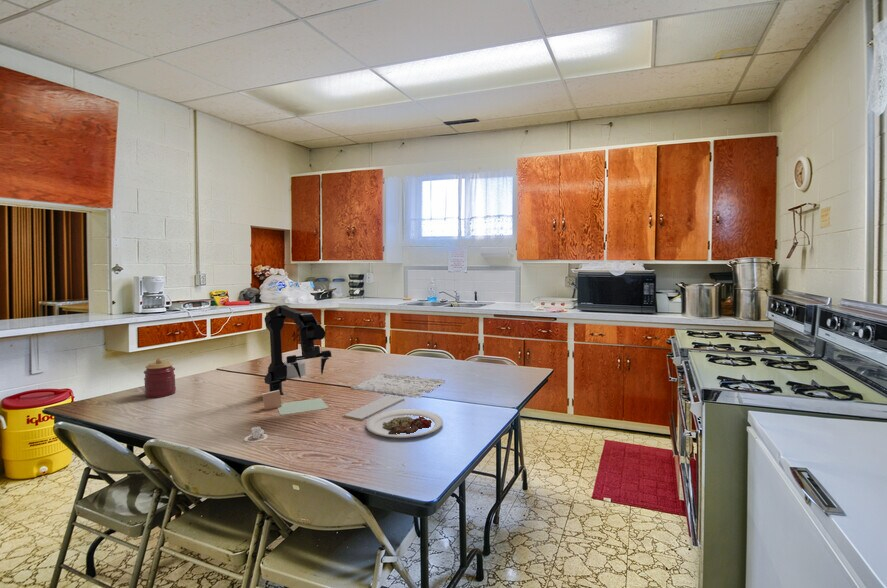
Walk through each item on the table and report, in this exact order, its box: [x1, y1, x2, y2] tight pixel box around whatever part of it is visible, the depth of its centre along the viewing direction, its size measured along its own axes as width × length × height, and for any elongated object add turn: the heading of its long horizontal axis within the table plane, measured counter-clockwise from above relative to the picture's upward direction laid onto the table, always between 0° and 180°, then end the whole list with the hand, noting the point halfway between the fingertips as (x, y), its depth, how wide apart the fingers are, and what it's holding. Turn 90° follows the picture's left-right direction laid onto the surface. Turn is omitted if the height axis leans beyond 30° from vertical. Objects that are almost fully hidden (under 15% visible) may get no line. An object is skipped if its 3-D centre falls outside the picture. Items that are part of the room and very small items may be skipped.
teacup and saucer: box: [243, 426, 269, 443], centre depth 168 cm, size 9×8×4 cm
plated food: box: [365, 408, 444, 439], centre depth 179 cm, size 30×30×3 cm
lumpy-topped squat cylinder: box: [283, 360, 307, 379], centre depth 258 cm, size 10×13×9 cm
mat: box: [276, 397, 329, 416], centre depth 203 cm, size 16×20×1 cm
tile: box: [262, 390, 282, 410], centre depth 201 cm, size 2×7×7 cm, turn 117°
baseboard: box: [341, 394, 405, 422], centre depth 202 cm, size 31×3×12 cm
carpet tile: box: [350, 373, 446, 398], centre depth 237 cm, size 39×30×2 cm
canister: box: [143, 358, 177, 399], centre depth 223 cm, size 13×13×18 cm
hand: (311, 376), depth 201 cm, fingers open, 9 cm apart
